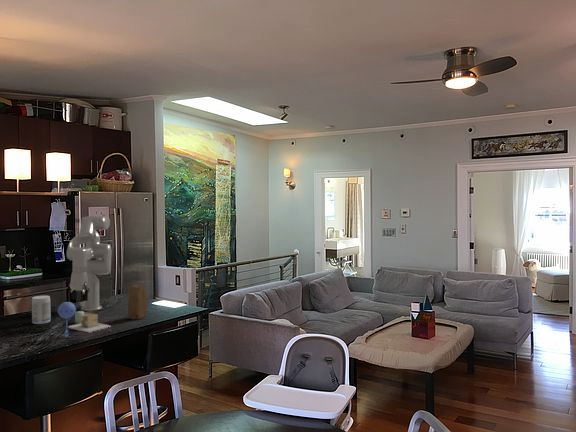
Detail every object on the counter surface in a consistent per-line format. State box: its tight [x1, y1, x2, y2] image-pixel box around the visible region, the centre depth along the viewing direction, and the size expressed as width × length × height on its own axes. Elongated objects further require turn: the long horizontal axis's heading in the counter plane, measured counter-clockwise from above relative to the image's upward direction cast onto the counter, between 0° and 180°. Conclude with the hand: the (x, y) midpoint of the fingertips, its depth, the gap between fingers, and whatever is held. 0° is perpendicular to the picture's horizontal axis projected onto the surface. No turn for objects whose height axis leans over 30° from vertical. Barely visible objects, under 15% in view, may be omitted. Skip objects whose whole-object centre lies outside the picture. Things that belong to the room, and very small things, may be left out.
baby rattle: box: [57, 301, 77, 338], centre depth 251 cm, size 9×9×18 cm
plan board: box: [67, 322, 112, 334], centre depth 269 cm, size 18×14×1 cm
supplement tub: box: [31, 295, 52, 325], centre depth 279 cm, size 10×10×15 cm
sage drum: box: [74, 310, 85, 324], centre depth 280 cm, size 5×5×6 cm
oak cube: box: [81, 313, 99, 328], centre depth 269 cm, size 6×6×6 cm
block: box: [127, 283, 148, 320], centre depth 292 cm, size 11×8×20 cm
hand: (79, 299), depth 279 cm, fingers open, 9 cm apart
